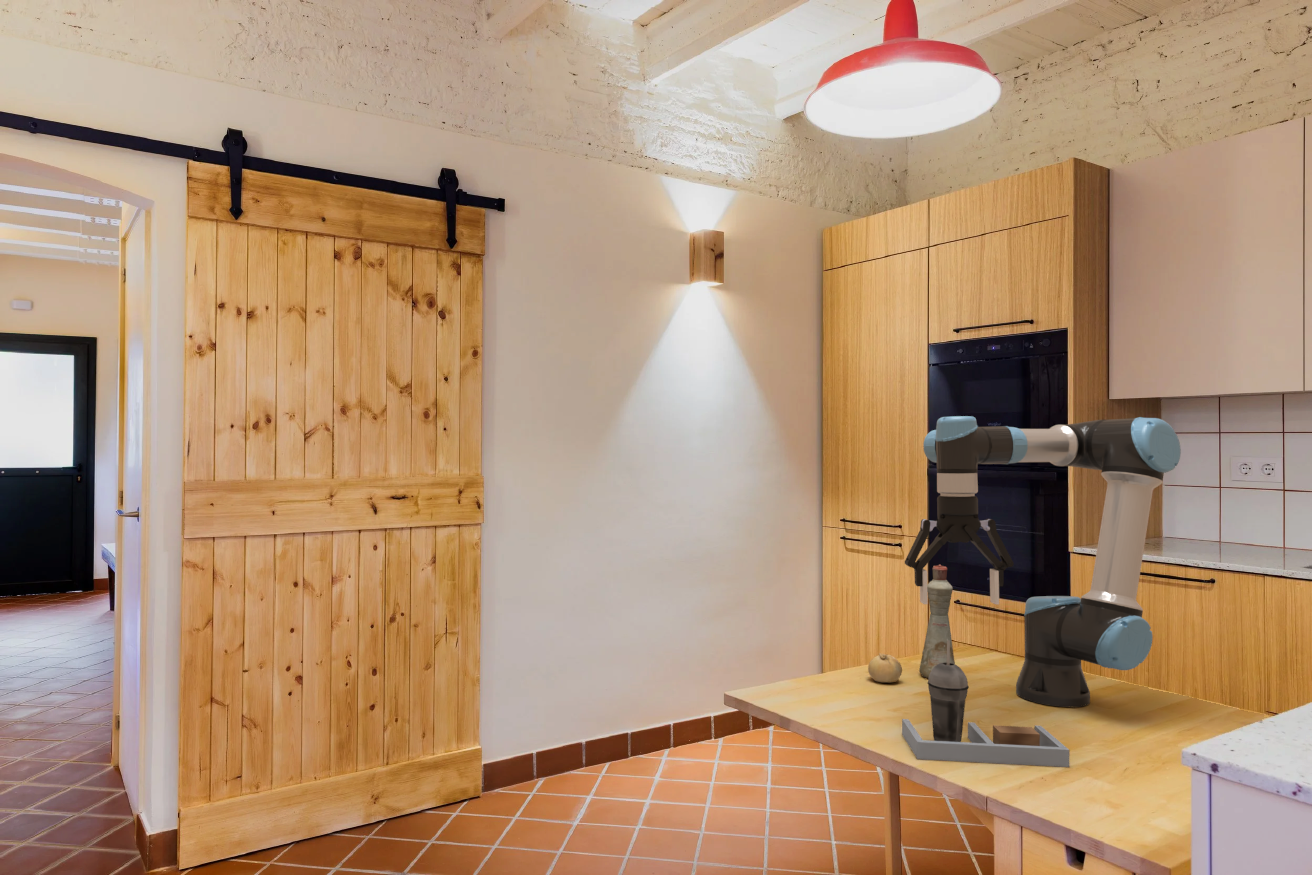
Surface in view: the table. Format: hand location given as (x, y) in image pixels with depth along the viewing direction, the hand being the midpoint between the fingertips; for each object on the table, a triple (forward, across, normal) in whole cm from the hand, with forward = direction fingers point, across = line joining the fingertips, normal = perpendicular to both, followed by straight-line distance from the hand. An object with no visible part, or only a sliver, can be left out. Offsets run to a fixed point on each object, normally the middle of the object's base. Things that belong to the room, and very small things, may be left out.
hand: (959, 603), depth 157 cm
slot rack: (+26, -1, +8) cm, 27 cm away
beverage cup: (+26, +5, +8) cm, 27 cm away
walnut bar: (+26, -8, +8) cm, 28 cm away
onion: (+26, +7, -37) cm, 46 cm away
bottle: (+27, -7, -43) cm, 51 cm away
